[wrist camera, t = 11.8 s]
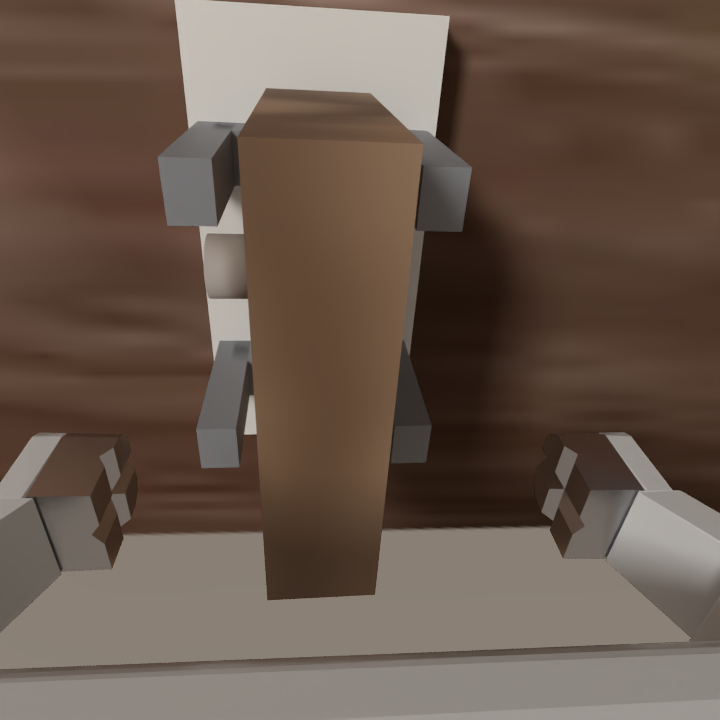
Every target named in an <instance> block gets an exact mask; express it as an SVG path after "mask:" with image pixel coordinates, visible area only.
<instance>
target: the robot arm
mask: <svg viewBox="0 0 720 720" xmlns="http://www.w3.org/2000/svg"><path fill="white" fill-rule="evenodd" d="M543 450H544V452H545V454H546V456H547V458H546V459H545V460H544V461H543V462H541V463H540V464H539V465H538V466H537V470H536V474H535V477H534V492H535V496H536V500H537V503H538V505H539V508H540V510H541V512H542V513H543V514H545V515H546V516H547V517H549V518H550V519H551V520H553V523H552V525H551V528H550V531H551V533H552V536H553V538H554V540H555V542H556V544H557V546H558V548H559V550H560V553H561V555H562V557H563V558H607V559H606V561H607V562H608V563H609V564H610V565H611V566H612V567H613V568H614V569H615V570H617V571H618V572H619V573H620V574H621V575H622V576H623V577H625V579H627V580H628V581H629V582H630V583H631V584H632V585H633V586H634V587H635V588H637V589H638V590H639V591H640V592H641V593H642V594H643V595H644V596H645V597H647V598H648V599H649V600H650V601H651V602H652V603H653V604H654V605H655V606H656V607H658V608H659V609H660V610H661V611H662V612H663V613H664V614H665V615H666V616H668V617H669V618H670V619H671V620H672V621H673V622H674V623H675V624H676V625H678V626H679V627H680V628H681V629H682V630H683V631H684V632H685V633H686V634H687V635H689V636H690V637H691V639H690V641H689V642H670V643H647V644H646V643H645V644H619V645H594V646H570V647H547V648H524V649H501V650H478V651H477V650H475V651H454V652H453V651H451V652H427V653H401V654H376V655H352V656H351V655H350V656H324V657H298V658H275V659H274V658H273V659H247V660H223V661H199V662H174V663H149V664H124V665H98V666H76V667H75V666H73V667H49V668H24V669H0V720H720V513H718V512H716V511H715V510H713V509H711V508H710V507H708V506H706V505H704V504H703V503H701V502H699V501H698V500H696V499H694V498H692V497H691V496H689V495H687V494H686V493H684V492H682V491H673V490H672V489H671V488H670V486H669V485H668V484H667V482H666V481H665V480H664V478H663V477H662V476H661V475H660V473H659V472H658V471H657V469H656V468H655V467H654V466H653V464H652V463H651V462H650V460H649V459H648V458H647V456H646V455H645V454H644V453H643V451H642V450H641V449H640V447H639V446H638V445H637V444H636V442H635V441H634V440H633V438H632V437H631V436H630V435H628V434H626V433H625V432H610V433H599V434H598V433H570V434H550V435H549V437H548V438H547V439H546V442H545V445H544V448H543ZM130 452H131V449H130V445H129V441H128V438H127V436H125V435H123V434H95V433H67V434H65V433H38V434H37V435H35V436H33V437H32V438H31V439H30V440H29V442H28V443H27V445H26V446H25V448H24V449H23V451H22V452H21V454H20V455H19V456H18V458H17V459H16V461H15V462H14V464H13V465H12V467H11V468H10V469H9V471H8V472H7V474H6V475H5V477H4V478H3V480H2V481H1V483H0V632H1V631H2V630H4V629H5V628H6V626H8V625H9V624H10V623H11V622H12V621H13V620H14V619H15V618H16V617H17V616H18V615H19V614H20V613H21V612H22V611H23V610H25V608H27V607H28V606H29V605H30V604H31V603H32V602H33V601H34V600H35V599H36V598H37V597H38V596H39V595H40V594H41V593H42V592H43V591H45V590H46V589H47V588H48V587H49V586H50V585H51V584H52V583H53V582H54V581H55V580H56V579H57V578H58V577H59V576H60V575H61V572H65V571H83V570H104V569H112V567H113V565H114V562H115V559H116V557H117V554H118V551H119V549H120V546H121V544H122V541H123V534H122V530H121V526H122V525H123V524H124V523H126V522H127V521H128V520H129V519H131V517H132V514H133V511H134V508H135V504H136V498H137V491H138V488H137V475H136V471H135V468H134V467H133V466H132V465H130V464H129V463H128V462H127V459H128V457H129V454H130Z"/></svg>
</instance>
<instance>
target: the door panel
mask: <svg viewBox="0 0 720 720" xmlns="http://www.w3.org/2000/svg"><path fill="white" fill-rule="evenodd" d="M237 139H238V154H239V169H240V185H241V200H242V215H243V231H244V234H214V233H208V234H207V235H206V238H205V244H204V277H205V285H206V291H207V294H208V297H209V298H210V299H248V308H249V323H250V339H251V354H252V369H253V385H254V400H255V416H256V431H257V446H258V462H259V477H260V493H261V508H262V523H263V539H264V554H265V570H266V583H267V584H266V585H267V599H268V600H280V599H297V598H298V599H299V598H318V597H338V596H356V595H357V596H358V595H374V594H375V588H376V579H377V570H378V560H379V551H380V542H381V533H382V524H383V514H384V505H385V496H386V486H387V477H388V468H389V459H390V449H391V440H392V431H393V422H394V412H395V403H396V394H397V385H398V375H399V366H400V357H401V347H402V338H403V329H404V320H405V310H406V301H407V292H408V283H409V273H410V264H411V255H412V246H413V236H414V227H415V218H416V208H417V199H418V190H419V181H420V171H421V162H422V153H423V143H422V142H421V141H420V140H419V139H418V138H417V137H416V136H415V135H414V134H413V133H411V132H410V131H409V130H408V129H407V128H406V127H405V126H404V125H403V124H402V123H401V122H400V121H399V120H398V119H397V118H396V117H395V116H394V115H393V114H392V113H391V112H390V111H389V110H388V109H387V108H386V107H384V106H383V105H382V104H381V103H380V102H379V101H378V100H377V99H376V98H375V97H374V96H373V95H372V94H371V93H357V92H336V91H316V90H295V89H275V88H266V89H265V91H264V93H263V95H262V96H261V98H260V100H259V101H258V103H257V105H256V106H255V108H254V110H253V111H252V113H251V115H250V116H249V118H248V120H247V121H246V123H245V125H244V126H243V128H242V130H241V132H240V133H239V135H238V137H237Z"/></svg>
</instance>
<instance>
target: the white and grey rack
mask: <svg viewBox="0 0 720 720" xmlns="http://www.w3.org/2000/svg"><path fill="white" fill-rule="evenodd" d="M175 7H176V16H177V25H178V34H179V44H180V53H181V62H182V71H183V80H184V89H185V98H186V108H187V117H188V126H189V129H188V130H187V131H186V132H185V133H184V134H183V135H182V136H180V137H179V138H178V139H177V140H176V141H175V142H174V143H173V144H171V145H170V146H169V147H168V148H167V149H166V150H165V151H164V152H163V153H161V154H160V155H159V156H158V163H159V170H160V177H161V184H162V191H163V198H164V205H165V212H166V219H167V225H169V226H199V227H200V236H201V245H202V254H203V263H204V244H205V238H206V235H207V234H208V233H214V234H244V231H243V215H242V200H241V185H240V169H239V154H238V139H237V137H238V135H239V133H240V132H241V130H242V128H243V126H244V125H245V123H246V121H247V120H248V118H249V116H250V115H251V113H252V111H253V110H254V108H255V106H256V105H257V103H258V101H259V100H260V98H261V96H262V95H263V93H264V91H265V89H266V88H275V89H295V90H316V91H336V92H357V93H371V94H372V95H373V96H374V97H375V98H376V99H377V100H378V101H379V102H380V103H381V104H382V105H383V106H384V107H386V108H387V109H388V110H389V111H390V112H391V113H392V114H393V115H394V116H395V117H396V118H397V119H398V120H399V121H400V122H401V123H402V124H403V125H404V126H405V127H406V128H407V129H408V130H409V131H410V132H411V133H413V134H414V135H415V136H416V137H417V138H418V139H419V140H420V141H421V142H422V143H423V153H422V162H421V171H420V181H419V190H418V199H417V208H416V218H415V227H414V236H413V246H412V255H411V264H410V273H409V283H408V292H407V301H406V310H405V320H404V329H403V338H402V347H401V357H400V366H399V375H398V385H397V394H396V403H395V412H394V422H393V431H392V440H391V449H390V461H391V463H423V462H426V459H427V452H428V446H429V439H430V433H431V427H432V425H431V422H430V419H429V415H428V412H427V409H426V406H425V403H424V400H423V397H422V394H421V391H420V388H419V385H418V382H417V379H416V375H415V372H414V369H413V366H412V363H411V360H410V357H409V356H410V348H411V339H412V331H413V322H414V314H415V305H416V297H417V289H418V280H419V272H420V263H421V255H422V246H423V238H424V231H448V232H462V229H463V222H464V216H465V209H466V203H467V197H468V190H469V184H470V178H471V171H472V167H471V166H469V165H468V164H467V163H466V162H465V161H463V160H462V159H461V158H460V157H459V156H457V155H456V154H455V153H454V152H452V151H451V150H450V149H449V148H448V147H446V146H445V145H444V144H443V143H442V142H440V141H439V140H438V139H437V138H436V137H435V136H436V128H437V119H438V111H439V102H440V94H441V86H442V77H443V69H444V60H445V52H446V43H447V35H448V26H449V18H450V16H439V15H423V14H408V13H393V12H377V11H362V10H346V9H331V8H316V7H300V6H285V5H270V4H254V3H239V2H224V1H208V0H175ZM207 300H208V309H209V318H210V328H211V337H212V346H213V355H214V364H213V368H212V372H211V376H210V379H209V383H208V387H207V391H206V394H205V398H204V402H203V406H202V410H201V413H200V417H199V421H198V425H197V429H196V431H197V438H198V445H199V453H200V460H201V467H202V468H224V467H240V460H241V453H242V446H243V439H244V434H257V431H256V416H255V400H254V385H253V369H252V354H251V339H250V323H249V308H248V299H210V298H209V297H208V294H207Z"/></svg>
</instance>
